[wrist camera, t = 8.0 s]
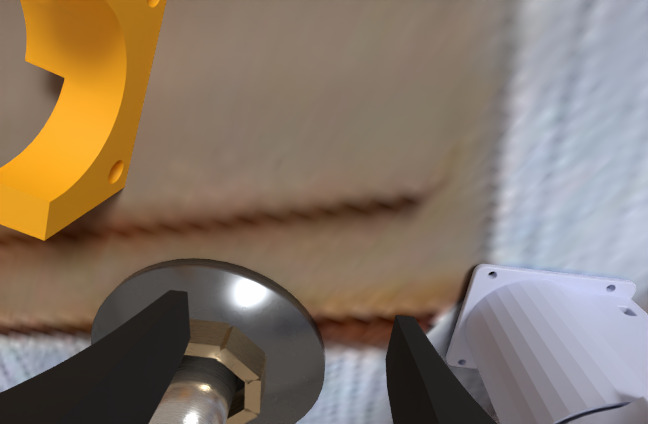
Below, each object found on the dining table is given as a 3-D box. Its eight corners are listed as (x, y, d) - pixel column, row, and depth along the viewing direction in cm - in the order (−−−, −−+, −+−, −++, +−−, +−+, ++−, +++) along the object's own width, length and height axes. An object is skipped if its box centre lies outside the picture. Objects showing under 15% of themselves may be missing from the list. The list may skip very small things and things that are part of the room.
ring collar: (337, 273, 23) (336, 304, 20) (314, 439, 30) (311, 479, 27) (81, 245, 23) (46, 272, 20) (116, 417, 30) (93, 455, 27)
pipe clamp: (81, -89, 16) (-69, -164, 10) (177, -42, 17) (88, -85, 11) (50, 155, 21) (-64, 200, 15) (126, 186, 21) (44, 240, 16)
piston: (248, 358, 25) (222, 446, 20) (229, 398, 27) (200, 490, 21) (185, 336, 24) (140, 420, 19) (170, 379, 26) (124, 467, 21)
